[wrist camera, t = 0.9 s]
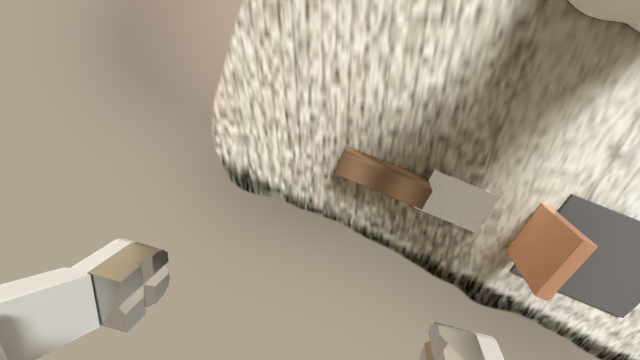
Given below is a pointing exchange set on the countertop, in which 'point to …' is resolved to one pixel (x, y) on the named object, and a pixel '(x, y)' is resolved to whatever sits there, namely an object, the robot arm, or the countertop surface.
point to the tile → (549, 251)
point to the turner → (420, 189)
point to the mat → (604, 257)
